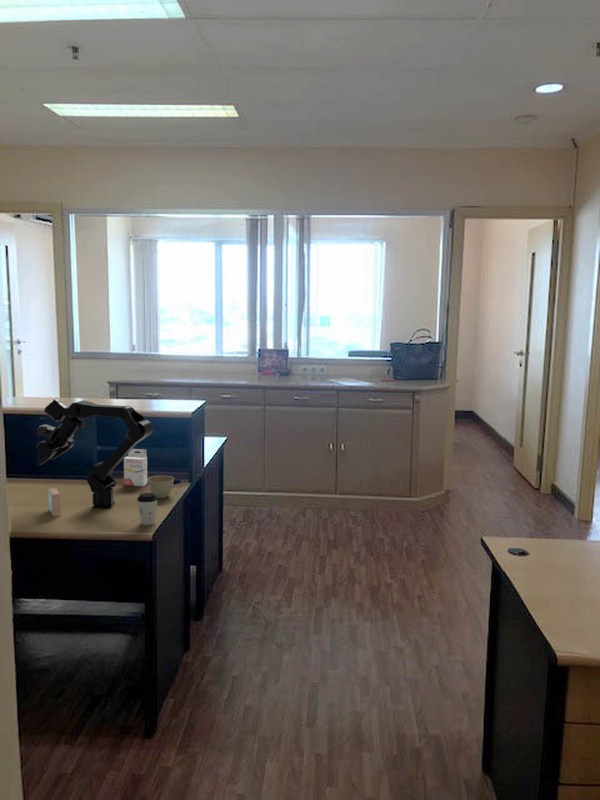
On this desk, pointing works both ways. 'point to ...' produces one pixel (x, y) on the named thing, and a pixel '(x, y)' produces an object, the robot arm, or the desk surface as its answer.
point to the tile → (54, 502)
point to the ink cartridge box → (135, 468)
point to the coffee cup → (147, 508)
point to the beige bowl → (161, 485)
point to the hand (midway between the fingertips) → (44, 462)
